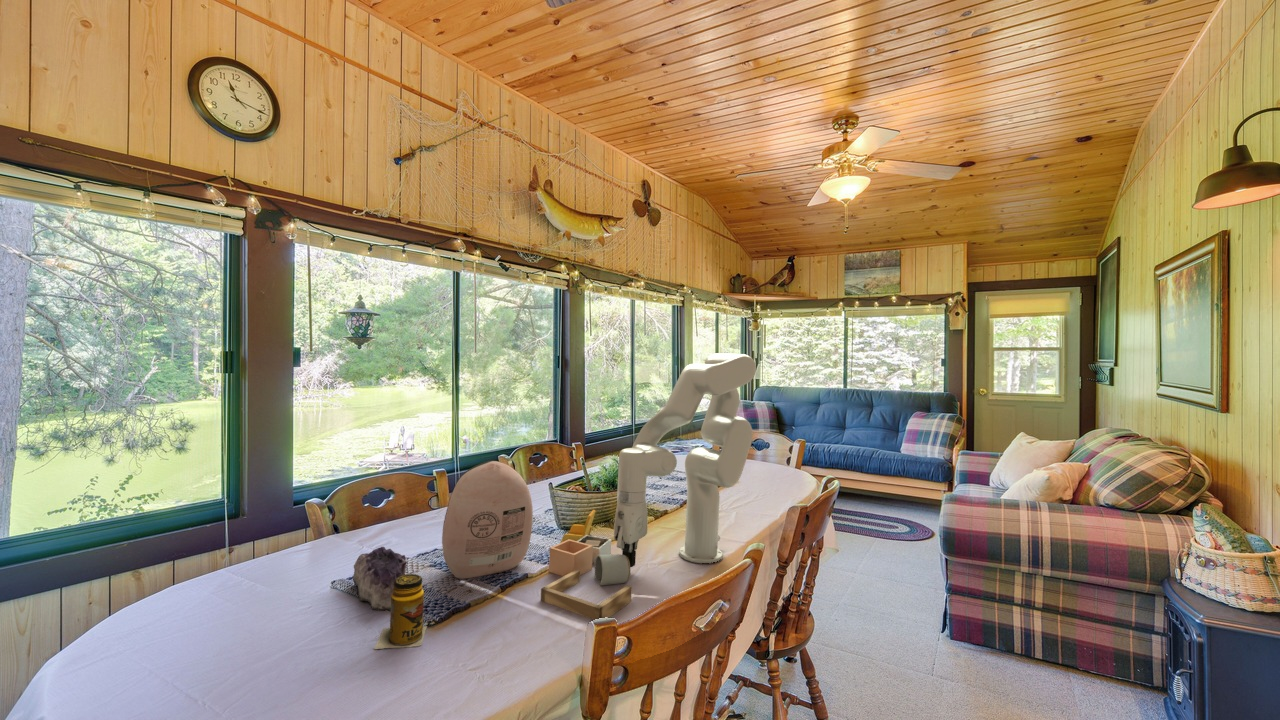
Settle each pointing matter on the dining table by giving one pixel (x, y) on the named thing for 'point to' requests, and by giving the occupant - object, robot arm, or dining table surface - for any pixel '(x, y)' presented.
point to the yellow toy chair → (580, 529)
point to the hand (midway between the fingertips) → (628, 565)
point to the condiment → (405, 614)
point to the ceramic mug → (612, 569)
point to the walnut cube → (593, 543)
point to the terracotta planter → (570, 557)
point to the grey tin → (602, 550)
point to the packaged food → (487, 521)
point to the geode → (378, 576)
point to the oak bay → (580, 606)
